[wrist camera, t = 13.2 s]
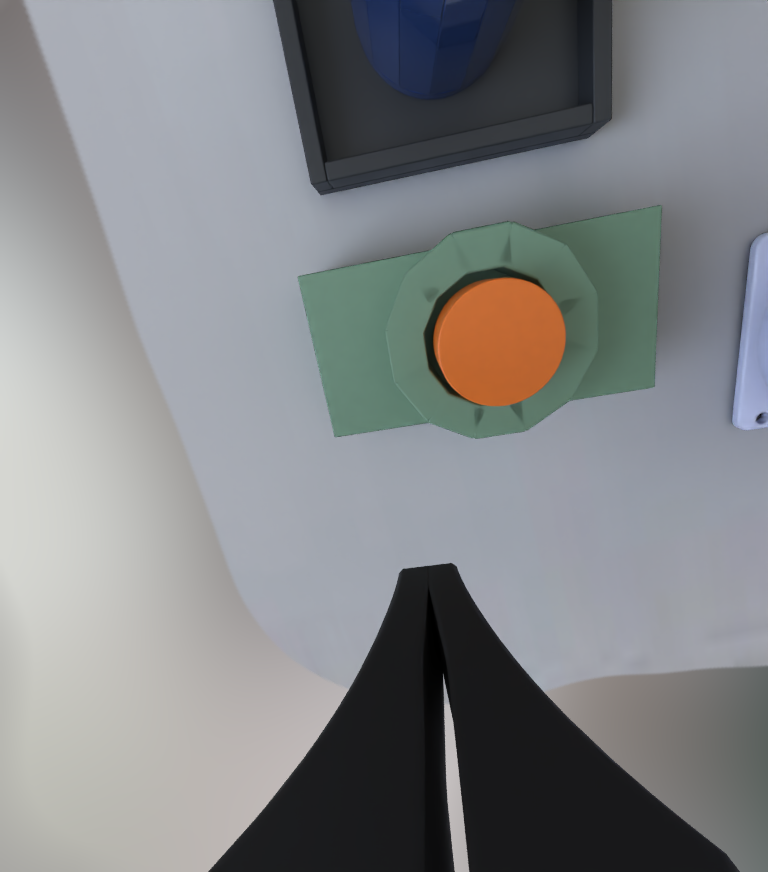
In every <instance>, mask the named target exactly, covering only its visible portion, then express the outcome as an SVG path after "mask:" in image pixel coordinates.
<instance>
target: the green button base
mask: <svg viewBox="0 0 768 872" xmlns="http://www.w3.org/2000/svg"><path fill="white" fill-rule="evenodd" d="M661 216H662V206H661V205H658V206H653V207H648V208H643V209H638V210H633V211H627V212H622V213H617V214H612V215H607V216H602V217H597V218H592V219H587V220H582V221H577V222H571V223H566V224H561V225H556V226H551V227H546V228H541V229H536V230H533V229H531V228H528V227H526V226H524V225H521V224H519V223H516V222H510V221H507V222H502V223H497V224H492V225H487V226H482V227H476V228H471V229H466V230H461V231H456V232H453V233H452V234H449V235H448V236H446V237H445V238H444V239H443V240H442V241H441V242H440V243H439V244H438V245H436V246H435V247H434V248H433V249H432V250H429V251H424V252H419V253H414V254H409V255H403V256H398V257H393V258H388V259H383V260H378V261H373V262H368V263H363V264H358V265H353V266H347V267H342V268H337V269H332V270H327V271H322V272H317V273H312V274H307V275H302V276H298V281H299V285H300V289H301V294H302V298H303V302H304V307H305V311H306V315H307V320H308V324H309V328H310V332H311V337H312V341H313V345H314V350H315V354H316V358H317V363H318V367H319V371H320V376H321V380H322V384H323V389H324V393H325V397H326V401H327V406H328V410H329V414H330V419H331V423H332V427H333V432H334V436H335V437H341V436H347V435H353V434H360V433H366V432H372V431H379V430H385V429H392V428H398V427H404V426H411V425H417V424H424V423H431V424H434V425H436V426H439V427H442V428H445V429H448V430H450V431H453V432H456V433H459V434H461V435H464V436H467V437H470V438H475V439H478V438H485V437H492V436H498V435H505V434H511V433H518V432H524V431H525V430H526V431H527V430H529V429H530V428H531V427H533V426H534V425H536V424H537V423H539V422H540V421H541V420H543V419H544V418H546V417H547V416H548V415H550V414H551V413H553V412H554V411H556V410H557V409H558V408H560V407H561V406H563V405H564V404H565V403H567V402H568V401H571V400H577V399H583V398H590V397H596V396H603V395H609V394H615V393H622V392H628V391H634V390H641V389H647V388H653V387H654V386H655V362H656V338H657V313H658V289H659V264H660V240H661ZM493 278H518V279H523V280H526V281H529V282H532V283H534V284H536V285H538V286H539V287H541V288H542V289H543V290H545V291H546V292H547V293H548V294H549V295H550V296H551V297H552V298H553V300H554V301H555V302H556V304H557V305H558V307H559V309H560V311H561V313H562V316H563V319H564V323H565V330H566V343H565V349H564V354H563V357H562V360H561V362H560V364H559V367H558V369H557V370H556V372H555V374H554V375H553V376H552V378H551V379H550V380H549V382H548V383H547V384H546V385H545V386H544V387H543V388H542V389H540V390H539V391H538V392H537V393H535V394H534V395H532V396H531V397H529V398H527V399H525V400H523V401H521V402H518V403H515V404H511V405H506V406H486V405H481V404H477V403H474V402H472V401H470V400H468V399H466V398H464V397H463V396H461V395H460V394H459V393H458V392H456V391H455V390H454V389H453V388H452V387H451V385H450V384H449V383H448V381H447V380H446V378H445V376H444V374H443V372H442V370H441V368H440V366H439V364H438V362H437V359H436V356H435V352H434V346H433V334H434V328H435V324H436V321H437V318H438V316H439V314H440V312H441V310H442V309H443V307H444V305H445V304H446V303H447V302H448V300H449V299H450V298H451V297H452V296H453V295H454V294H455V293H456V292H458V291H459V290H460V289H462V288H464V287H465V286H467V285H469V284H471V283H474V282H476V281H480V280H484V279H493Z"/></svg>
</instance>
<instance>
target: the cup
mask: <svg viewBox="0 0 768 872" xmlns="http://www.w3.org/2000/svg"><path fill="white" fill-rule="evenodd" d="M523 2H524V0H351V4H352V10H353V16H354V22H355V27H356V32H357V35H358V37H359V40H360V43H361V46H362V48H363V51H364V53H365V55H366V57H367V59H368V61H369V62H370V64H371V65H372V67H373V68H374V70H375V71H376V72H377V73H378V75H379V76H380V77H381V78H382V79H383V80H384V81H385V82H386V83H387V84H389V85H390V86H391V87H393V88H394V89H395V90H397V91H399V92H401V93H403V94H405V95H408V96H411V97H414V98H419V99H440V98H445V97H449V96H452V95H455V94H457V93H459V92H461V91H463V90H465V89H466V88H468V87H469V86H471V85H472V84H473V83H475V82H476V81H477V80H478V79H479V78H480V77H481V76H482V75H483V74H484V73H485V72H486V71H487V70H488V69H489V67H490V66H491V65H492V63H493V62H494V60H495V59H496V57H497V56H498V54H499V52H500V50H501V48H502V47H503V44H504V42H505V41H506V39H507V37H508V36H509V34H510V32H511V29H512V27H513V25H514V23H515V20H516V18H517V16H518V13H519V11H520V9H521V6H522V4H523Z"/></svg>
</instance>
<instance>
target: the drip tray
mask: <svg viewBox="0 0 768 872" xmlns="http://www.w3.org/2000/svg"><path fill="white" fill-rule="evenodd" d="M273 2H274V7H275V12H276V17H277V22H278V27H279V31H280V36H281V41H282V46H283V51H284V56H285V60H286V65H287V70H288V75H289V80H290V84H291V89H292V94H293V99H294V104H295V109H296V113H297V118H298V123H299V128H300V133H301V138H302V142H303V147H304V152H305V157H306V162H307V167H308V171H309V176H310V181H311V184H312V185H313V187H314V188H315V189H316V190H317V191H318V193H319V194H320V195H324V194H328V193H333V192H338V191H342V190H347V189H352V188H356V187H361V186H366V185H370V184H375V183H380V182H384V181H389V180H394V179H398V178H403V177H408V176H412V175H417V174H422V173H426V172H431V171H436V170H440V169H445V168H450V167H454V166H459V165H464V164H468V163H473V162H477V161H482V160H487V159H491V158H496V157H501V156H505V155H510V154H515V153H519V152H524V151H529V150H533V149H538V148H543V147H547V146H552V145H557V144H561V143H566V142H571V141H575V140H580V139H585V138H589V137H590V136H591V135H592V134H594V133H595V132H596V131H597V130H598V129H600V128H601V127H602V126H604V125H605V124H606V123H607V122H609V121H610V120H611V118H612V0H524V2H523V4H522V6H521V9H520V11H519V13H518V16H517V18H516V20H515V23H514V25H513V27H512V29H511V32H510V34H509V36H508V37H507V39H506V41H505V42H504V44H503V47H502V48H501V50H500V52H499V54H498V56H497V57H496V59H495V60H494V62H493V63H492V65H491V66H490V67H489V69H488V70H487V71H486V72H485V73H484V74H483V75H482V76H481V77H480V78H479V79H478V80H477V81H476V82H475V83H473V84H472V85H471V86H469V87H468V88H466V89H465V90H463V91H461V92H459V93H457V94H455V95H452V96H449V97H445V98H440V99H419V98H414V97H411V96H408V95H405V94H403V93H401V92H399V91H397V90H395V89H394V88H393V87H391V86H390V85H389V84H387V83H386V82H385V81H384V80H383V79H382V78H381V77H380V76H379V75H378V73H377V72H376V71H375V70H374V68H373V67H372V65H371V64H370V62H369V61H368V59H367V57H366V55H365V53H364V51H363V48H362V46H361V43H360V40H359V37H358V35H357V32H356V27H355V22H354V16H353V10H352V4H351V0H273Z"/></svg>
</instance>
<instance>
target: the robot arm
mask: <svg viewBox="0 0 768 872" xmlns="http://www.w3.org/2000/svg"><path fill="white" fill-rule="evenodd" d="M760 413H762V415H761V417H760V418H759V419H758V420H756V418H757V416H758V415H759V414H760ZM732 423H733V425H734V426H735V427H737V428H740V429H742V430H753V429H760V428H767V427H768V232H767V233H764V234H761V235H759V236H758V237H757V238H756V239H755V240H754V242H753V243H752V245H751V249H750V257H749V266H748V275H747V285H746V294H745V303H744V312H743V322H742V331H741V340H740V350H739V359H738V368H737V377H736V387H735V396H734V405H733V414H732ZM443 674H444V679H445V684H446V689H447V694H448V698H449V703H450V708H451V713H452V718H453V722H454V730H455V740H456V749H457V758H458V767H459V777H460V786H461V796H462V805H463V813H464V824H465V834H466V843H467V852H468V863H469V872H740V871H739V870H738V869H737V867H736V866H735V865H734V864H733V862H732V861H731V860H730V858H729V857H728V856H727V854H726V853H724V852H723V851H722V850H721V849H719V848H718V847H717V846H715V845H714V844H713V843H712V842H710V841H709V840H708V839H707V838H705V837H704V836H703V835H702V834H700V833H699V832H698V831H696V830H695V829H694V828H693V827H691V826H690V825H689V824H687V823H686V822H685V821H684V820H683V819H681V818H680V817H679V816H678V815H676V814H675V813H674V812H673V811H672V810H670V809H669V808H668V807H667V806H666V805H664V804H663V803H662V802H661V801H659V800H658V799H657V798H656V797H655V796H654V795H652V794H651V793H650V792H649V791H648V790H646V789H645V788H644V787H643V786H642V785H641V784H639V783H638V782H637V781H636V780H635V779H634V778H633V777H632V776H630V775H629V774H628V773H627V772H626V771H625V770H623V769H622V768H621V767H620V766H619V765H618V764H617V763H615V762H614V761H613V760H612V759H611V758H610V757H609V756H608V755H607V754H606V753H605V752H604V751H603V750H602V749H601V748H600V747H599V746H597V745H596V744H595V743H594V742H593V741H592V740H591V739H590V738H589V737H588V736H587V735H586V734H585V733H584V732H583V731H582V730H580V728H578V727H577V726H576V725H575V724H574V723H573V722H572V721H571V720H570V719H569V718H568V717H567V716H566V715H565V714H564V713H563V712H562V711H561V710H560V709H559V708H558V707H557V706H556V705H555V703H554V702H553V701H552V700H551V699H550V698H549V697H548V696H547V695H546V694H545V693H544V692H543V691H542V690H541V688H540V687H539V686H538V685H537V684H536V683H535V682H534V681H533V680H532V678H531V677H530V676H529V675H528V674H527V673H526V671H525V670H524V669H523V668H522V667H521V666H520V664H519V663H518V662H517V661H516V659H515V658H514V657H513V656H512V654H511V653H510V652H509V651H508V649H507V648H506V647H505V645H504V644H503V643H502V642H501V640H500V639H499V638H498V636H497V635H496V634H495V632H494V631H493V629H492V628H491V627H490V625H489V624H488V622H487V621H486V619H485V618H484V616H483V615H482V613H481V612H480V610H479V609H478V607H477V606H476V604H475V602H474V601H473V599H472V597H471V596H470V594H469V592H468V590H467V589H466V587H465V585H464V583H463V581H462V579H461V577H460V574H459V572H458V569H457V567H456V566H455V565H454V564H452V563H449V564H441V565H432V566H424V567H416V568H408V569H403V570H402V571H401V572H400V573H399V577H398V581H397V585H396V588H395V591H394V594H393V597H392V600H391V603H390V605H389V608H388V611H387V613H386V616H385V618H384V620H383V623H382V625H381V628H380V630H379V632H378V635H377V637H376V639H375V641H374V643H373V645H372V647H371V649H370V651H369V653H368V655H367V657H366V659H365V661H364V663H363V665H362V667H361V669H360V671H359V673H358V675H357V677H356V678H355V680H354V682H353V684H352V686H351V687H350V689H349V691H348V692H347V694H346V696H345V697H344V699H343V701H342V702H341V704H340V706H339V707H338V709H337V710H336V712H335V714H334V715H333V717H332V718H331V720H330V721H329V723H328V724H327V726H326V727H325V729H324V730H323V732H322V733H321V735H320V736H319V738H318V739H317V741H316V742H315V743H314V745H313V746H312V748H311V749H310V750H309V752H308V753H307V754H306V756H305V757H304V759H303V760H302V761H301V763H300V764H299V765H298V766H297V768H296V769H295V770H294V772H293V773H292V774H291V775H290V777H289V778H288V779H287V780H286V782H285V783H284V784H283V786H282V787H281V788H280V789H279V791H278V792H277V793H276V795H275V796H274V797H273V799H272V800H271V801H270V802H269V803H268V805H267V806H266V807H265V808H264V809H263V811H262V812H261V813H260V814H259V815H258V817H257V818H256V819H255V820H254V821H253V822H252V823H251V825H250V826H249V827H248V828H247V829H246V830H245V831H244V832H243V834H242V835H241V836H240V837H239V838H238V839H237V840H236V841H235V842H234V844H233V845H232V846H231V847H230V848H229V849H228V850H227V851H226V853H225V854H224V855H223V856H222V857H221V858H220V859H219V860H218V862H217V863H216V864H215V865H214V866H213V867H212V868H211V869H210V870H209V872H455V871H454V862H453V853H452V842H451V832H450V822H449V813H448V803H447V789H446V765H445V725H444V689H443Z"/></svg>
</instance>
